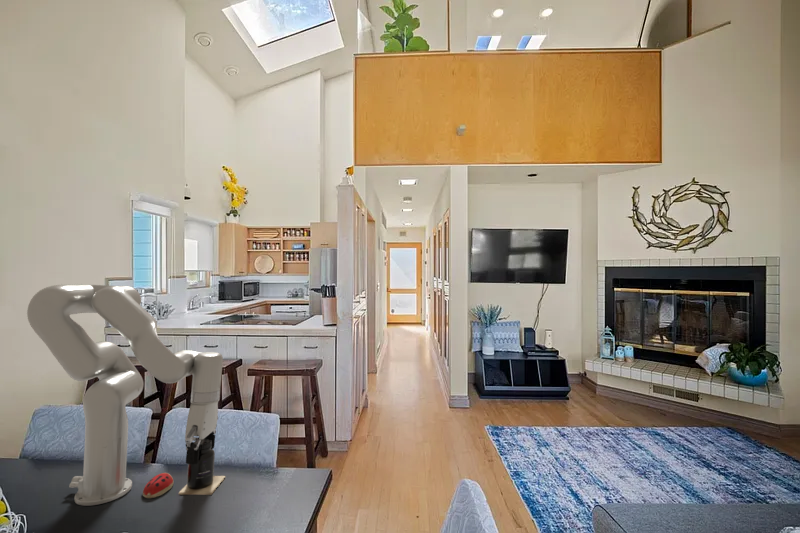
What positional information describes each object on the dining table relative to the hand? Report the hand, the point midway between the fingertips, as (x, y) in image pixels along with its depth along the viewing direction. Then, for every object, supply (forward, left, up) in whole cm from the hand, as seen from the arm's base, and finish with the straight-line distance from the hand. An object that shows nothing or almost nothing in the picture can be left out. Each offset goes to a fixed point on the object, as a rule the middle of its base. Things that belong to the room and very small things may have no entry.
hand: (200, 455), depth 111 cm
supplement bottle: (0, 0, -8) cm, 8 cm away
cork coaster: (+1, 0, -9) cm, 9 cm away
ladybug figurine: (-10, -2, -9) cm, 14 cm away
